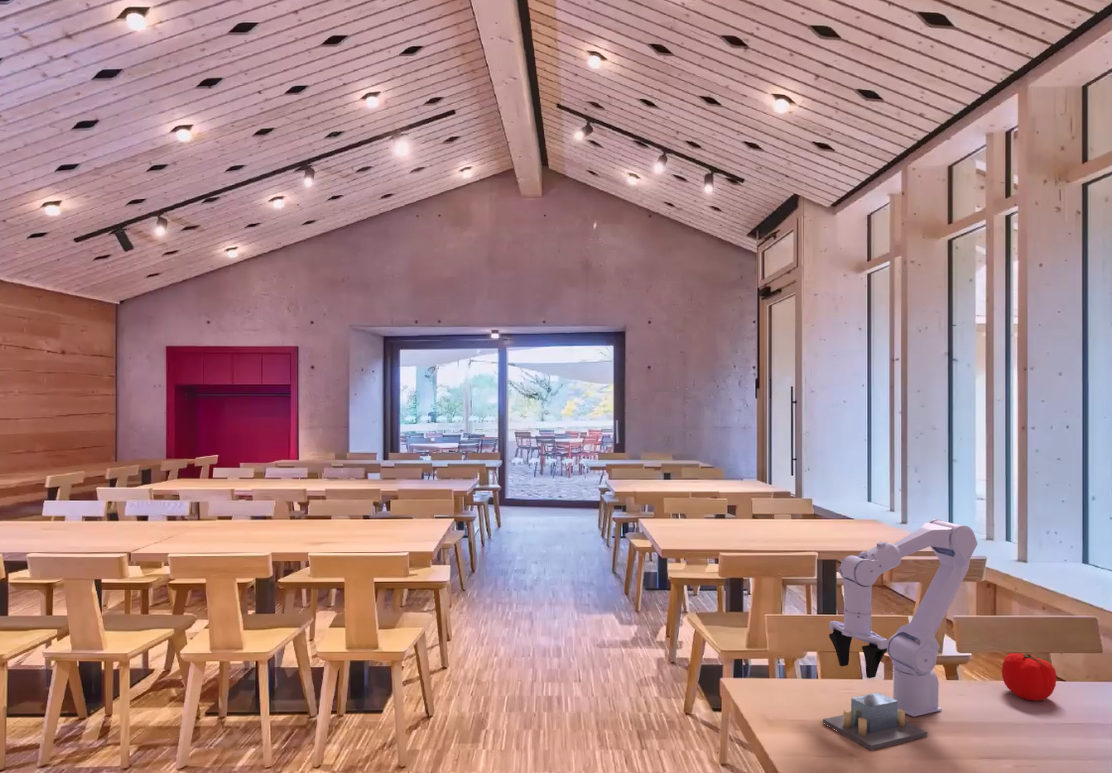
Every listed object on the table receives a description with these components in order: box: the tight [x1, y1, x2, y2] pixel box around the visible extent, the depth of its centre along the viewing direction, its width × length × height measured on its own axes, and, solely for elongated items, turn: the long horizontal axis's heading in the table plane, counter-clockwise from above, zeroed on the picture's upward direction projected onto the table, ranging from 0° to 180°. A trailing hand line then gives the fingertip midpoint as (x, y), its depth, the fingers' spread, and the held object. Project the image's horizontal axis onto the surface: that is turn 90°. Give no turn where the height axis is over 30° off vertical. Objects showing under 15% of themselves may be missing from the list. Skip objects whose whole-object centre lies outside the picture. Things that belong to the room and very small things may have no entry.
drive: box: [850, 692, 898, 734], centre depth 156 cm, size 8×5×6 cm, turn 114°
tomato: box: [1001, 651, 1058, 702], centre depth 175 cm, size 11×13×10 cm
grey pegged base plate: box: [822, 709, 928, 751], centre depth 156 cm, size 16×13×4 cm
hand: (857, 671), depth 164 cm, fingers open, 7 cm apart
